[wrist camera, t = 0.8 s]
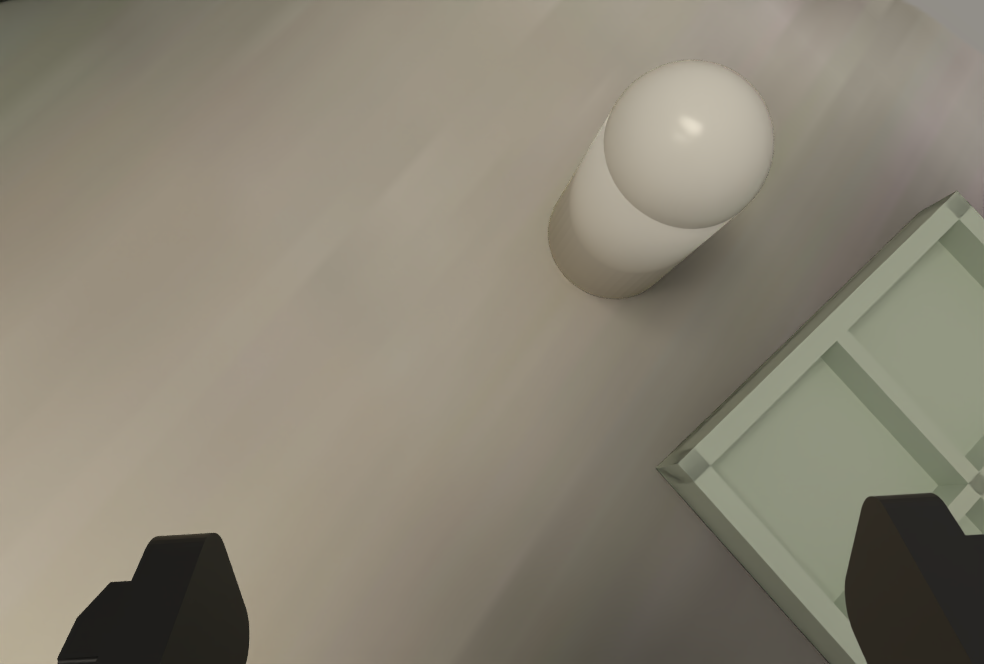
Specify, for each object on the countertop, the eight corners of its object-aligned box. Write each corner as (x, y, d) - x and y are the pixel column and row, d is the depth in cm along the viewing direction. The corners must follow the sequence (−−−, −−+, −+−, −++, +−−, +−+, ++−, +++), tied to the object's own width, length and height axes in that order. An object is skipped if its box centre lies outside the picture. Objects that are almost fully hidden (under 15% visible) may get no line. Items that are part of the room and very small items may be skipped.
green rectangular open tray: (655, 468, 30) (677, 463, 28) (920, 211, 34) (956, 191, 32) (959, 809, 29) (1006, 832, 27) (1197, 504, 33) (1254, 502, 31)
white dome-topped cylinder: (521, 228, 31) (592, 91, 22) (612, 153, 33) (718, -8, 23) (608, 324, 31) (720, 231, 21) (697, 246, 32) (842, 122, 22)
